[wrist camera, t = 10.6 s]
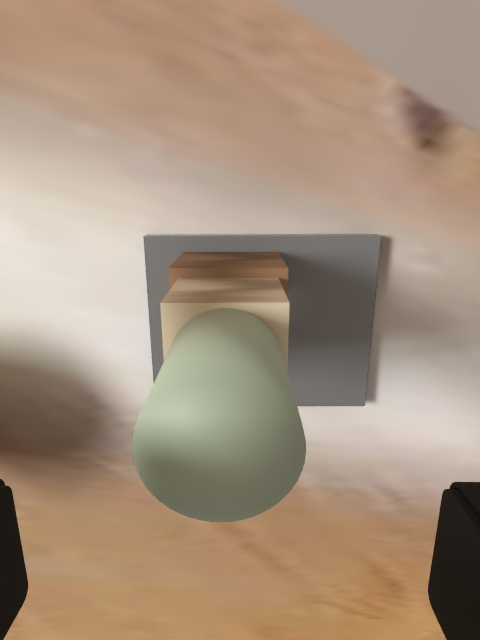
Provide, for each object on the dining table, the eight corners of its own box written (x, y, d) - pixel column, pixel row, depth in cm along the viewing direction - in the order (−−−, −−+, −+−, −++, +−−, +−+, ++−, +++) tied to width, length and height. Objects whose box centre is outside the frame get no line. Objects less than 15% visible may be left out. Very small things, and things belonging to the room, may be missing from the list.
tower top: (278, 277, 21) (289, 302, 16) (275, 369, 22) (285, 417, 17) (178, 277, 21) (160, 302, 16) (182, 369, 22) (167, 417, 17)
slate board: (376, 234, 27) (381, 235, 26) (360, 399, 30) (364, 406, 30) (146, 234, 27) (143, 236, 26) (157, 399, 30) (155, 406, 30)
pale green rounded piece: (284, 307, 16) (310, 371, 10) (281, 413, 17) (302, 521, 12) (166, 308, 16) (124, 372, 10) (172, 413, 17) (138, 522, 12)
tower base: (277, 251, 26) (288, 267, 21) (275, 340, 28) (284, 377, 22) (183, 251, 26) (168, 268, 21) (187, 340, 28) (174, 378, 22)
